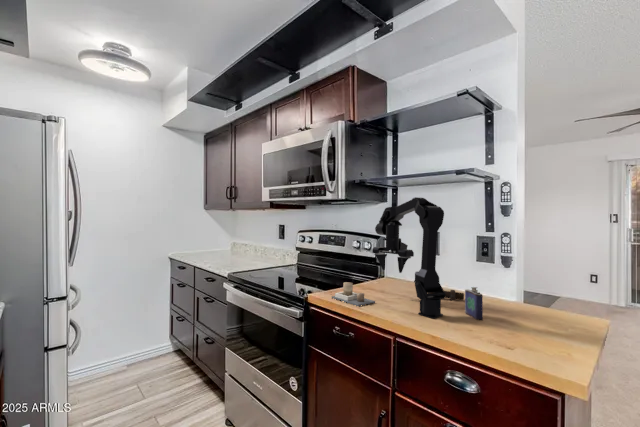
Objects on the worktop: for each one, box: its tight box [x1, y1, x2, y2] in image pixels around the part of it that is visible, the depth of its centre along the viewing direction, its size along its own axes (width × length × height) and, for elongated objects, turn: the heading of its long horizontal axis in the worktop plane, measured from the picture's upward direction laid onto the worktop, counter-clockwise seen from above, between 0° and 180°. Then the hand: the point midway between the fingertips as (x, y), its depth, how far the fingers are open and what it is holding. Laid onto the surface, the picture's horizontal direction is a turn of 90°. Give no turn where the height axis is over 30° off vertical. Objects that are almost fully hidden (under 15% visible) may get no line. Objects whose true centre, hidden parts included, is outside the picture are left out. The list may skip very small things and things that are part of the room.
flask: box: [464, 286, 484, 322], centre depth 112 cm, size 9×3×11 cm, turn 4°
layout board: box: [331, 291, 376, 307], centre depth 132 cm, size 16×10×4 cm, turn 38°
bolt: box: [427, 289, 465, 301], centre depth 138 cm, size 6×5×15 cm
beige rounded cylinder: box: [342, 281, 354, 296], centre depth 134 cm, size 4×4×6 cm
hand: (391, 271), depth 137 cm, fingers open, 9 cm apart
